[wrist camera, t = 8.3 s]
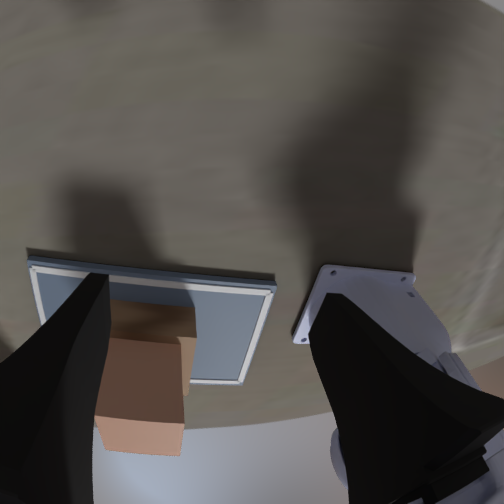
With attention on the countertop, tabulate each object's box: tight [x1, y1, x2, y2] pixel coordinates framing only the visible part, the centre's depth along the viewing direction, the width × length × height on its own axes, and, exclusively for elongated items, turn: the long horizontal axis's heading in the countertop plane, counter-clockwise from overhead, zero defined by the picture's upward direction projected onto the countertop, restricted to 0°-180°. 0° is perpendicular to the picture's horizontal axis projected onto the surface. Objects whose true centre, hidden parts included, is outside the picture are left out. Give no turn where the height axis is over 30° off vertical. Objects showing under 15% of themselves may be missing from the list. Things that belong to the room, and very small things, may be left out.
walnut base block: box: [110, 299, 197, 396], centre depth 22 cm, size 7×7×3 cm
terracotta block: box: [94, 338, 185, 456], centre depth 19 cm, size 5×5×6 cm
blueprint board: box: [27, 255, 277, 385], centre depth 24 cm, size 18×12×1 cm, turn 77°
